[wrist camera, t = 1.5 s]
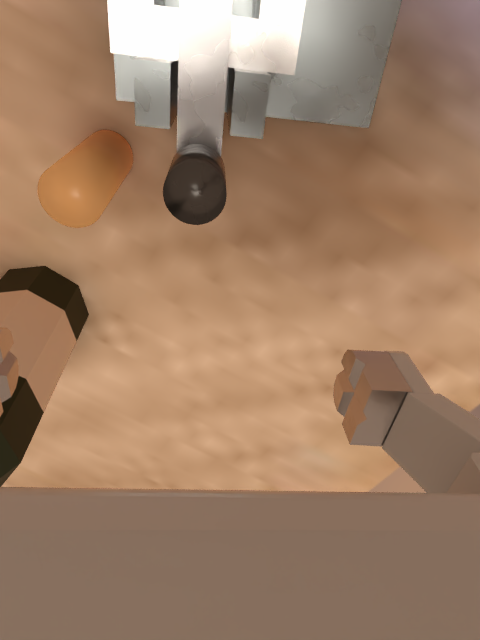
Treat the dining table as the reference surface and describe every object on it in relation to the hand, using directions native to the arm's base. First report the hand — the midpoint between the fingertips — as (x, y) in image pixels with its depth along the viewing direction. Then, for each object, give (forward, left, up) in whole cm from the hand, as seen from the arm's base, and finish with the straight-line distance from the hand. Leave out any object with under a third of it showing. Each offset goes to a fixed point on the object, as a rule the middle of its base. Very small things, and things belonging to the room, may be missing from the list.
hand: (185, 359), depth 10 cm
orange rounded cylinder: (+7, +2, -26) cm, 27 cm away
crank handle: (0, -6, -18) cm, 19 cm away
